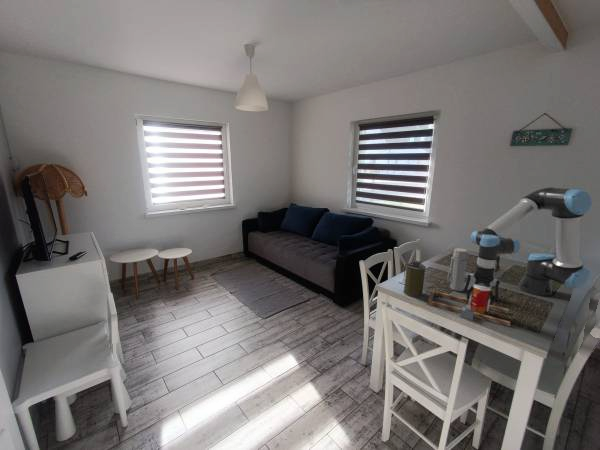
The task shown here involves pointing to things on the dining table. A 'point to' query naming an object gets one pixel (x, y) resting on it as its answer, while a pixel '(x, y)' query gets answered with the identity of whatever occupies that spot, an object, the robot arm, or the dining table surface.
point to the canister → (414, 278)
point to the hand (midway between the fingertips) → (478, 307)
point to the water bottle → (458, 269)
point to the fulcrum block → (467, 312)
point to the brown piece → (465, 300)
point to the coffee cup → (480, 297)
